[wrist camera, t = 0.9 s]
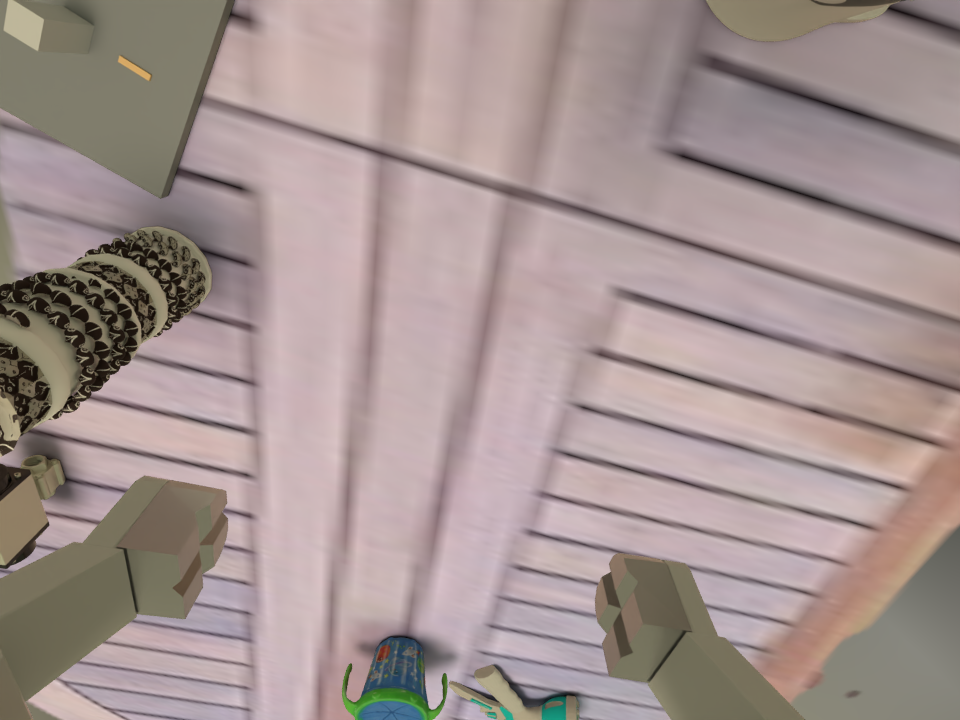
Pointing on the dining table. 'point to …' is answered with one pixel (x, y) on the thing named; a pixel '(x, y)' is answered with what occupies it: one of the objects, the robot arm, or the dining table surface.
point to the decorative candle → (90, 322)
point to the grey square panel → (112, 77)
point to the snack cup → (394, 685)
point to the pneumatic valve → (25, 505)
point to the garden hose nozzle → (514, 700)
